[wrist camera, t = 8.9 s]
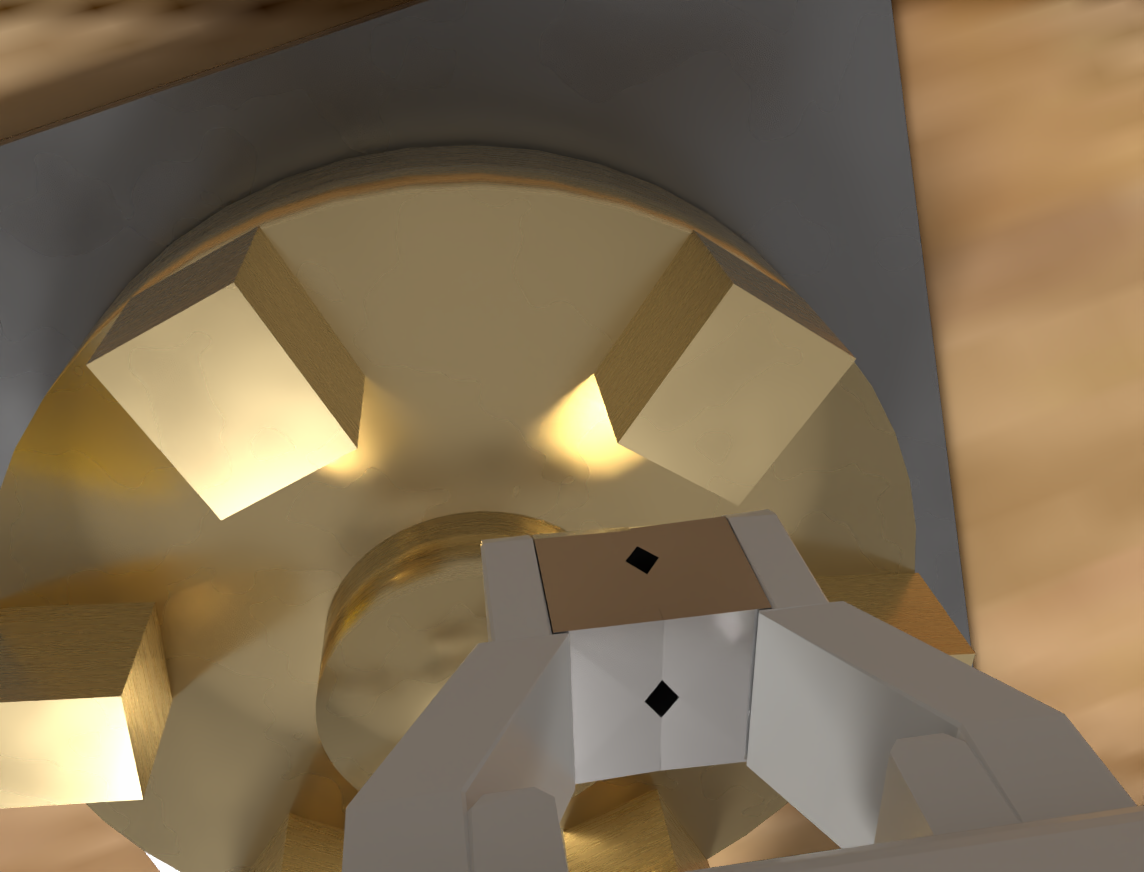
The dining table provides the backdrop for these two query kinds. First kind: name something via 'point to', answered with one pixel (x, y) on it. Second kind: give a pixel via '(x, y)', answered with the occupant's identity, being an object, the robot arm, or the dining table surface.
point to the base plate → (523, 121)
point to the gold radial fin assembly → (404, 490)
